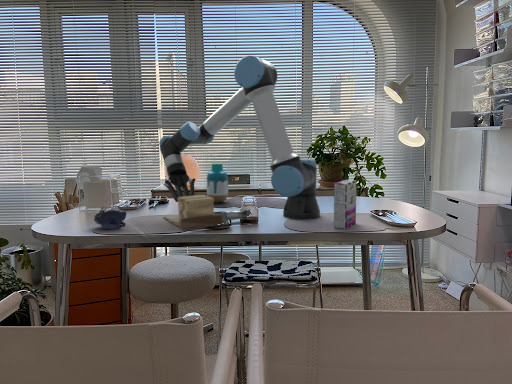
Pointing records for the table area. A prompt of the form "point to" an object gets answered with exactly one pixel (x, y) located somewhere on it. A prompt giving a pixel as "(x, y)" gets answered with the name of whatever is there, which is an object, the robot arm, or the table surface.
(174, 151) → the robot arm
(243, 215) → the winch
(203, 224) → the brown flat slab
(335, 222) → the candy bar box
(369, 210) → the table surface
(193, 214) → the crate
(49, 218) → the table surface
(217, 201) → the vase
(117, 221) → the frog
